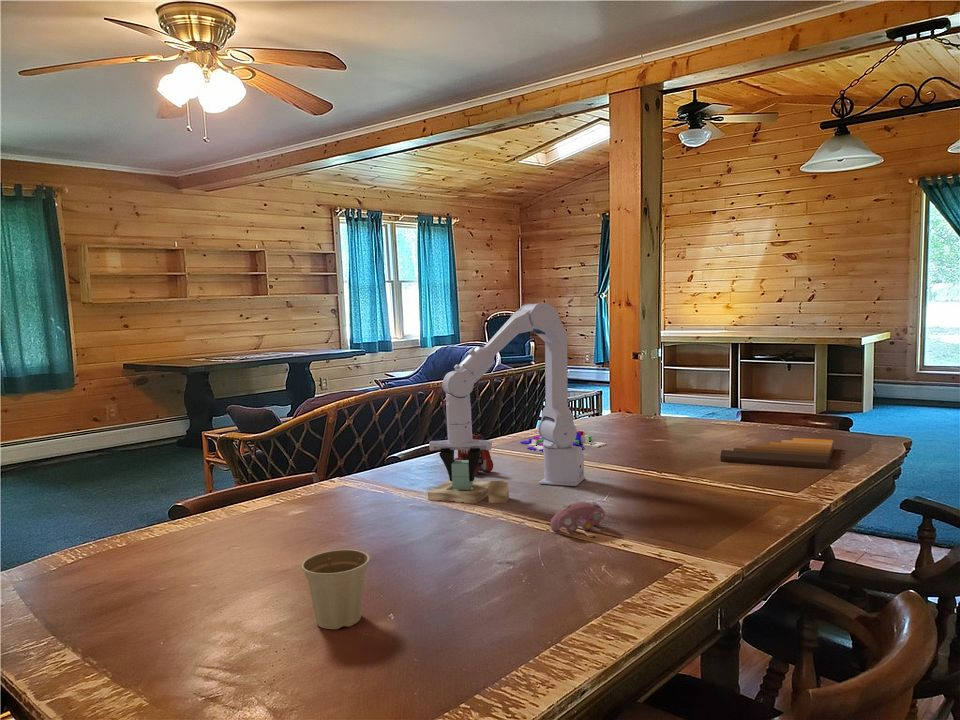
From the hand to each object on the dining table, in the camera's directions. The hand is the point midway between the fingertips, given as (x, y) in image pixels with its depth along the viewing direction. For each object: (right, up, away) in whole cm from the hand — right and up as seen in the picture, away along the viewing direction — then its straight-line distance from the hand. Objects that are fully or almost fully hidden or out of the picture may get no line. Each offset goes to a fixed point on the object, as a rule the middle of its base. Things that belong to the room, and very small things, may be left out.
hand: (462, 480), depth 159 cm
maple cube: (+8, -4, -6) cm, 11 cm away
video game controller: (+23, -5, -29) cm, 37 cm away
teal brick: (0, -2, 0) cm, 2 cm away
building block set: (+29, +1, +52) cm, 59 cm away
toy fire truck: (+3, -2, +22) cm, 22 cm away
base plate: (0, -3, 0) cm, 3 cm away
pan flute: (+85, +2, +24) cm, 88 cm away
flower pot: (-16, -9, -63) cm, 65 cm away
